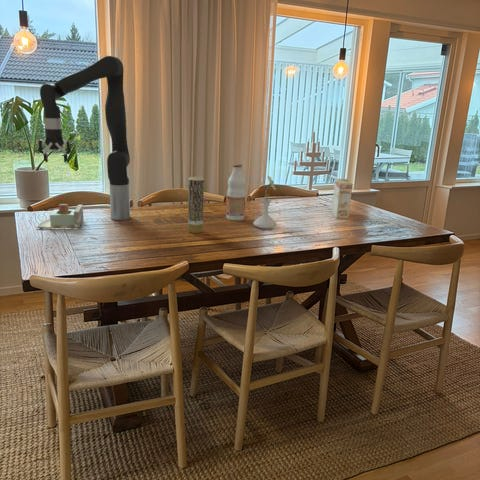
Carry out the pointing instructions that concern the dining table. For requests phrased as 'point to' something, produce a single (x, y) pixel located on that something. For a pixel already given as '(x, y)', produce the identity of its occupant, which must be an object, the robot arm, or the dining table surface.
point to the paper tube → (195, 204)
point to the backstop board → (78, 222)
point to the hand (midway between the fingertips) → (56, 162)
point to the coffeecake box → (341, 198)
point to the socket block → (62, 218)
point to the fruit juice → (236, 194)
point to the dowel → (63, 209)
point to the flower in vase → (266, 211)
